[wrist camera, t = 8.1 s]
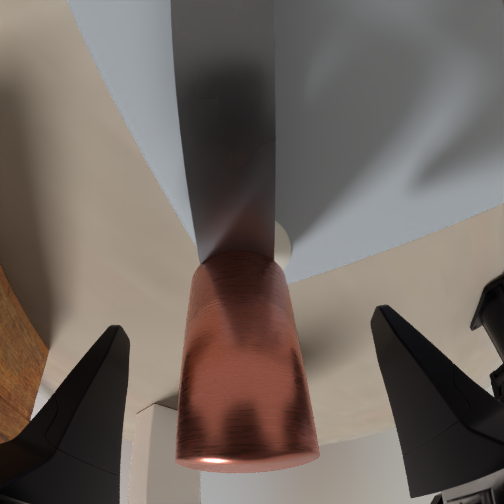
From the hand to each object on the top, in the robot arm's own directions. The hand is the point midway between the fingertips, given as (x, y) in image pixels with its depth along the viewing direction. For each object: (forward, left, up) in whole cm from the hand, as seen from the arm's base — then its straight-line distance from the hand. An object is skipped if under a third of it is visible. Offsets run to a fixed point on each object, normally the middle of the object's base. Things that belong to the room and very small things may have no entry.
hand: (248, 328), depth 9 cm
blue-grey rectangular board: (+9, -8, -5) cm, 13 cm away
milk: (-20, +18, -6) cm, 27 cm away
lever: (+9, -3, -3) cm, 10 cm away
